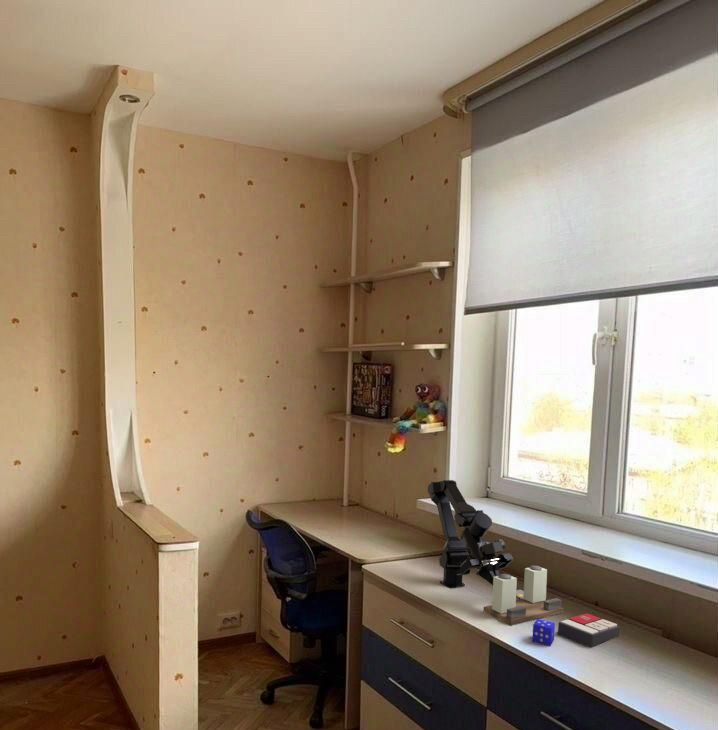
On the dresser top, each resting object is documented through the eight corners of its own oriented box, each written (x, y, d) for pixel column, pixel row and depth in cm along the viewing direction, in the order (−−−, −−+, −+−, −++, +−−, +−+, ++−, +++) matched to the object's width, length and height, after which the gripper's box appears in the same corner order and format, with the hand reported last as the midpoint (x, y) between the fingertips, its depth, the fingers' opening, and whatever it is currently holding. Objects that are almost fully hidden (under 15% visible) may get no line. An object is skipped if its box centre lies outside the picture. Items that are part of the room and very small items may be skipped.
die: (550, 646, 176) (551, 628, 176) (532, 642, 178) (533, 624, 178) (554, 640, 180) (555, 622, 180) (536, 636, 182) (537, 618, 182)
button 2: (523, 599, 207) (524, 566, 207) (536, 596, 210) (537, 564, 210) (532, 603, 204) (534, 570, 204) (545, 600, 207) (547, 567, 207)
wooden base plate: (483, 611, 199) (483, 598, 199) (534, 600, 211) (535, 588, 211) (511, 625, 189) (511, 612, 189) (563, 613, 201) (564, 600, 201)
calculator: (620, 623, 185) (592, 632, 176) (619, 638, 185) (591, 648, 176) (586, 611, 194) (558, 619, 185) (585, 625, 194) (557, 634, 184)
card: (507, 593, 217) (507, 591, 217) (520, 590, 220) (520, 589, 220) (525, 601, 210) (525, 599, 210) (537, 598, 213) (538, 596, 213)
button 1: (492, 609, 197) (493, 574, 197) (506, 606, 200) (507, 572, 200) (501, 613, 193) (502, 578, 193) (515, 610, 196) (516, 576, 196)
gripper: (467, 533, 198) (490, 579, 189) (510, 528, 208) (534, 571, 199) (450, 552, 205) (471, 597, 195) (492, 546, 215) (515, 588, 205)
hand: (499, 588), depth 198 cm, fingers closed, pressing on button 1
